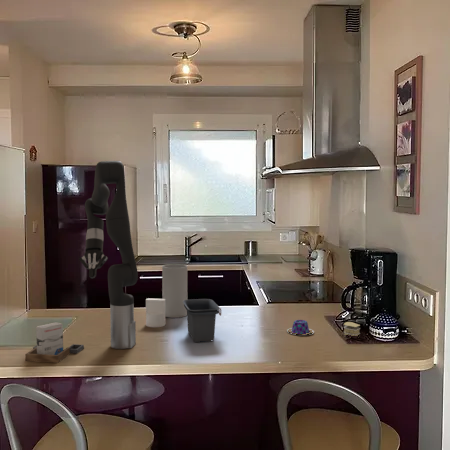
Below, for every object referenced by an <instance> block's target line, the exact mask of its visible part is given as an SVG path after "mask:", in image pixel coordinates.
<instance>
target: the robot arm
mask: <svg viewBox="0 0 450 450" xmlns="http://www.w3.org/2000/svg"><path fill="white" fill-rule="evenodd" d="M109 184H110V185H111V184H115V185H116V186H115V187H116V188H115V194H114V197H113V198H112V202H111V204H110V205H109V202H108V200H109V197H110V193H111V192H110V189H109V186H107V185H109ZM93 186H94V187H93V191H92V194H91V197H90V198H88V199H86V201H85V203H84V211H85V214H86V219H87V228H86V234H85V235H86V236H85V247H84V248H85V249H84V251H85V252H84V254H83V256H82V257H79V258H78V260H79V262H81V264H82V265H83V267H84V268H85V269H87V270H88V277H89V278H90V279H95V278H96V277H97V270H98V269H101V268H102V267H103V266H104V264H105V263H106V262H107V261H108V259H109V257H108V256H106V255H105V254H104V251H103V250H104V227H105V226H106V231H107V235H108V236H109V238H110V240H111V242H113V244H114V245H115V246H116V247H117V249H118V251H119V253H120V257H121V261H122V263H118V264H113V265H110V266H109V268H108V271H107V287H108V297H109V301H110V302H109V305H110V311H109V312H110V321H109V322H110V347H111V348H112V349H115V350H116V349H117V350H124V349H132V348H133V347H134V346H135V345H136V342H137V341H136V338H137V337H136V335H137V334H136V331H137V330H136V326H137V325H136V320H135V313H134V312H135V311H134V309H135V307H134V305H135V303H134V302H135V301H134V300H135V299H134V296H133V295H132V294H128V293H125V292H124V287H130V286H131V287H132V286H134V285H135V284H137V282H138V280H139V279H138V278H139V276H138V275H139V273H138V267H137V261H136V258H135V253H134V248H133V247H134V246H133V242H132V235H131V224H130V223H131V222H130V216H129V210H128V202H127V190H126V176H125V167H124V164H123V162H122V161H121V160H104V161H103V160H102V161H98V163H96V166H95V170H94V182H93ZM97 215H99V216H104V215H105V223H104V220H103V218H101V217H98V216H97ZM104 224H106V225H105V226H104ZM86 261H87V262H88V263H87V262H86Z"/></svg>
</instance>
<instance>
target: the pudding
mask: <svg viewBox="0 0 450 450" xmlns="http://www.w3.org/2000/svg"><path fill="white" fill-rule="evenodd" d="M289 329H292V330H291V331H292V333H297V334H306V333H310V332H309V330H312V332H313V333H312V334H309V335H313V334H314V333H315V330H313V329H311V328H309V324H308V321H307V320H305V319H295V320H293V324H292V327H290V328H288V329H286V332H287V333H289V332H288V330H289ZM292 333H290V334H291V335H293V334H292ZM294 335H296V334H294ZM306 335H307V334H306ZM309 335H308V336H309ZM296 336H297V335H296Z"/></svg>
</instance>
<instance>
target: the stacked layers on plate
mask: <svg viewBox="0 0 450 450" xmlns="http://www.w3.org/2000/svg"><path fill="white" fill-rule="evenodd" d="M360 326H361V325H360V324H358V323H355V322H352V321H345V322H344V323H343V328H344V331H343V336H344V335H351V336H358V335H359V336H360V334H361V332H360V330H361V327H360Z"/></svg>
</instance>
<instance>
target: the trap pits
mask: <svg viewBox="0 0 450 450" xmlns="http://www.w3.org/2000/svg"><path fill="white" fill-rule="evenodd" d="M84 345H85V344H78V343H76V344H75V343H72V344H71V345H70V346H68V348H69V351H70V354H79V353H80V352H81V351H83V350H84V347H85V346H84ZM36 347H37V344H36V345H35V346H34V347H32V350H33V349H34V348H36Z"/></svg>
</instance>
